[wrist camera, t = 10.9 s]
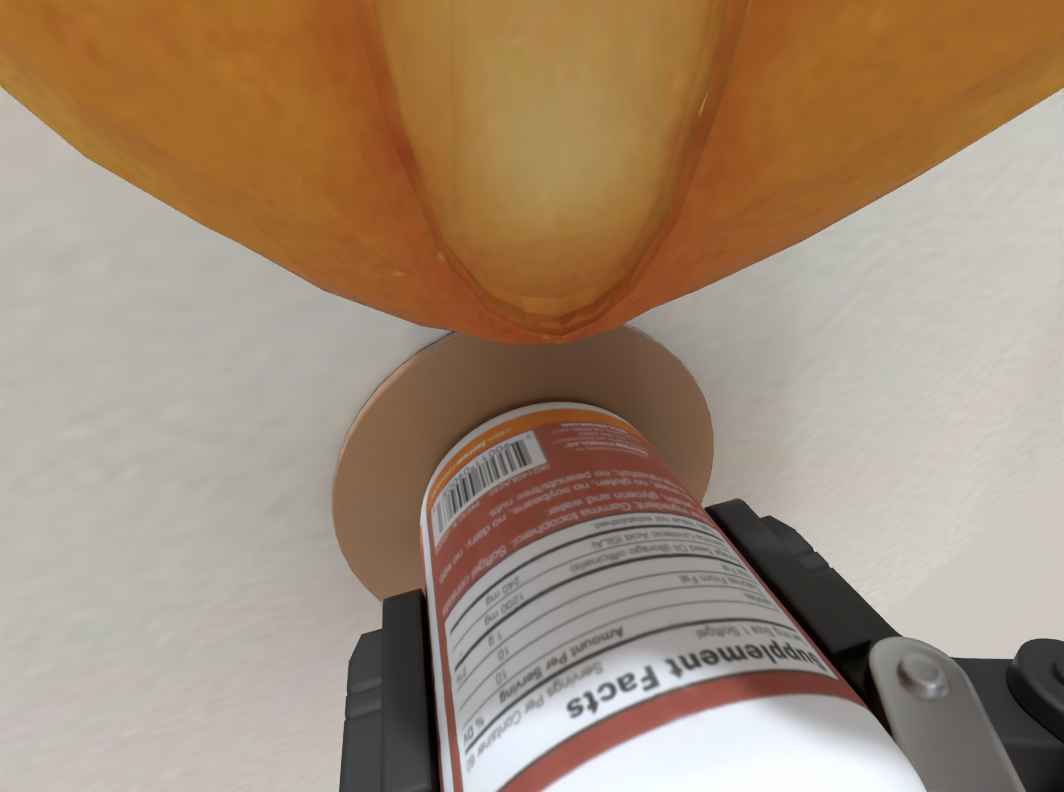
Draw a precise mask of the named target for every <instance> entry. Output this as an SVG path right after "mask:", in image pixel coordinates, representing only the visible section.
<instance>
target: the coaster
mask: <svg viewBox="0 0 1064 792" xmlns="http://www.w3.org/2000/svg"><path fill="white" fill-rule="evenodd" d="M547 402H574V403H582V404H587V405H592V406H595V407H599V408H602V409H604V410H607V411H609V412H611V413H614V414H616V415H617V416H619V417H621V418H622V419H624V420H625V421H627V422H628V423H629V424H630V425H632V426H633V427H634V428H635V429H636V430H637V431H638V432H639V433H640V434H641V435H642V436H643V437H644V438H645V439H646V440H647V441H648V442H649V443H650V445H651V446H652V447H653V448H654V449H655V451H656V452H657V453H658V454H659V455H660V456H661V458H662V459H663V460H664V461H665V462H666V464H667V465H668V466H669V468H670V469H671V470H672V471H673V473H674V474H675V475H676V476H677V477H678V479H679V480H680V481H681V482H682V483H683V485H684V486H685V487H686V488H687V489H688V491H689V492H690V493H691V494H692V495H693V497H694V498H695V499H696V500H697V501H698V503H699V504H700V505H701V502H702V500H703V497H704V495H705V492H706V490H707V486H708V482H709V478H710V475H711V470H712V462H713V454H714V445H713V429H712V424H711V418H710V413H709V410H708V407H707V405H706V402H705V399H704V396H703V394H702V392H701V390H700V389H699V387H698V385H697V383H696V381H695V380H694V378H693V376H692V375H691V374H690V373H689V371H688V370H687V369H686V368H685V366H684V365H683V364H682V363H681V362H680V360H678V359H677V358H676V357H675V356H674V355H673V354H672V353H670V352H669V351H668V350H667V349H666V348H665V347H664V346H662V345H661V344H660V343H659V342H657V341H656V340H654V339H653V338H651V337H649V336H648V335H646V334H645V333H643V332H641V331H640V330H638V329H636V328H634V327H631V326H629V325H627V324H624V323H623V324H621V325H620V326H618V327H615V328H612V329H609V330H606V331H603V332H600V333H597V334H594V335H590V336H587V337H584V338H581V339H578V340H575V341H572V342H569V343H566V344H506V343H501V342H496V341H492V340H487V339H482V338H478V337H475V336H472V335H469V334H466V333H463V332H454V333H452V334H449V335H447V336H446V337H444V338H442V339H440V340H439V341H437V342H435V343H433V344H432V345H430V346H428V347H426V348H425V349H423V350H421V351H420V352H419V353H417V354H416V355H415V356H413V357H412V358H411V359H409V360H408V361H407V362H406V363H404V364H403V365H402V366H400V367H399V368H398V369H397V370H396V371H395V372H394V373H393V374H392V375H391V376H390V377H389V378H388V379H386V380H385V381H384V382H383V383H382V384H381V385H380V386H379V387H378V388H377V390H376V391H375V392H374V393H373V395H372V396H371V397H370V399H369V400H368V401H367V403H366V404H365V405H364V406H363V408H362V409H361V410H360V412H359V414H358V416H357V417H356V419H355V421H354V423H353V425H352V426H351V428H350V430H349V432H348V433H347V436H346V439H345V441H344V444H343V447H342V449H341V452H340V455H339V457H338V462H337V467H336V472H335V477H334V483H333V494H332V514H333V521H334V527H335V533H336V536H337V539H338V542H339V545H340V548H341V551H342V553H343V555H344V557H345V559H346V561H347V562H348V564H349V566H350V568H351V570H352V571H353V573H354V574H355V575H356V576H357V578H358V579H359V580H360V581H361V583H362V584H363V585H364V586H365V587H366V588H367V589H368V590H369V591H370V592H371V593H372V594H373V595H374V596H375V597H376V598H378V599H379V600H380V601H381V602H383V601H384V599H385V598H388V597H391V596H395V595H398V594H402V593H405V592H409V591H412V590H416V589H419V588H421V589H422V591H423V593H424V596H425V589H424V578H423V567H422V555H421V544H420V518H421V508H422V504H423V499H424V496H425V493H426V490H427V487H428V485H429V482H430V480H431V478H432V476H433V474H434V472H435V470H436V468H437V467H438V465H439V464H440V463H441V461H442V460H443V459H444V457H445V456H446V455H447V454H448V452H449V451H450V450H451V449H452V448H453V447H454V446H455V445H456V444H457V443H458V442H459V441H460V440H462V439H463V438H464V437H465V436H466V435H468V434H469V433H470V432H471V431H473V430H474V429H476V428H478V427H479V426H481V425H482V424H484V423H486V422H487V421H489V420H491V419H493V418H495V417H497V416H500V415H502V414H504V413H507V412H509V411H512V410H515V409H518V408H521V407H525V406H529V405H533V404H540V403H547Z"/></svg>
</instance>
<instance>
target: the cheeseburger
mask: <svg viewBox="0 0 1064 792" xmlns="http://www.w3.org/2000/svg"><path fill="white" fill-rule="evenodd" d="M0 86H1V87H2V88H3V89H4V90H6V91H7V92H8V93H9V94H10V95H12V96H13V97H14V98H15V99H16V100H18V101H19V102H20V103H21V104H22V105H24V106H25V107H26V108H27V109H28V110H30V111H31V112H32V113H33V114H34V115H36V116H37V117H38V118H39V119H40V120H42V121H43V122H44V123H45V124H46V125H48V126H49V127H50V128H51V129H52V130H54V131H55V132H56V133H57V134H58V135H60V136H61V137H62V138H63V139H64V140H66V141H67V142H68V143H69V144H70V145H72V146H73V147H74V148H75V149H77V150H78V151H79V152H80V153H81V154H83V155H84V156H85V157H86V158H88V159H90V160H92V161H93V162H95V163H97V164H99V165H100V166H102V167H104V168H105V169H107V170H109V171H111V172H112V173H114V174H116V175H118V176H119V177H121V178H123V179H124V180H126V181H128V182H130V183H131V184H133V185H135V186H136V187H138V188H140V189H142V190H143V191H145V192H147V193H149V194H150V195H152V196H154V197H155V198H157V199H159V200H161V201H162V202H164V203H166V204H168V205H169V206H171V207H173V208H174V209H176V210H178V211H180V212H181V213H183V214H185V215H187V216H188V217H190V218H192V219H193V220H195V221H197V222H199V223H200V224H202V225H204V226H206V227H208V228H210V229H212V230H214V231H216V232H218V233H220V234H222V235H224V236H226V237H228V238H230V239H232V240H234V241H236V242H238V243H240V244H242V245H244V246H245V247H247V248H249V249H251V250H253V251H254V252H256V253H258V254H260V255H262V256H263V257H265V258H267V259H269V260H270V261H272V262H274V263H276V264H278V265H279V266H281V267H283V268H285V269H287V270H288V271H290V272H292V273H294V274H295V275H297V276H299V277H301V278H303V279H304V280H306V281H308V282H310V283H311V284H313V285H315V286H317V287H319V288H320V289H322V290H324V291H327V292H329V293H332V294H335V295H338V296H341V297H343V298H346V299H349V300H352V301H354V302H357V303H360V304H363V305H365V306H368V307H371V308H374V309H376V310H379V311H382V312H385V313H388V314H390V315H393V316H396V317H399V318H401V319H404V320H407V321H410V322H412V323H415V324H418V325H421V326H425V327H432V328H438V329H444V330H450V331H457V332H463V333H466V334H469V335H472V336H475V337H478V338H482V339H487V340H492V341H496V342H501V343H506V344H566V343H569V342H572V341H575V340H578V339H581V338H584V337H587V336H590V335H594V334H597V333H600V332H603V331H606V330H609V329H612V328H615V327H618V326H620V325H621V324H623V323H625V322H627V321H629V320H631V319H633V318H635V317H637V316H639V315H640V314H642V313H644V312H646V311H648V310H649V309H651V308H654V307H656V306H659V305H661V304H664V303H666V302H669V301H672V300H674V299H677V298H679V297H682V296H684V295H687V294H689V293H692V292H694V291H697V290H699V289H701V288H703V287H705V286H708V285H710V284H712V283H714V282H716V281H718V280H720V279H722V278H725V277H727V276H729V275H731V274H733V273H735V272H737V271H739V270H742V269H744V268H746V267H748V266H750V265H752V264H754V263H756V262H759V261H761V260H763V259H765V258H767V257H769V256H771V255H773V254H776V253H778V252H780V251H782V250H784V249H786V248H788V247H790V246H793V245H795V244H797V243H799V242H801V241H803V240H805V239H807V238H809V237H811V236H812V235H814V234H816V233H818V232H820V231H821V230H823V229H825V228H827V227H829V226H830V225H832V224H834V223H836V222H838V221H839V220H841V219H843V218H845V217H847V216H848V215H850V214H852V213H854V212H856V211H857V210H859V209H861V208H863V207H865V206H866V205H868V204H870V203H872V202H874V201H875V200H877V199H879V198H881V197H883V196H884V195H886V194H888V193H890V192H892V191H894V190H895V189H897V188H899V187H901V186H903V185H904V184H906V183H908V182H910V181H912V180H913V179H915V178H916V177H918V176H920V175H921V174H923V173H925V172H926V171H928V170H930V169H931V168H933V167H934V166H936V165H938V164H939V163H941V162H943V161H944V160H946V159H948V158H949V157H951V156H953V155H954V154H956V153H957V152H959V151H961V150H962V149H964V148H966V147H967V146H969V145H971V144H972V143H974V142H975V141H977V140H979V139H980V138H982V137H984V136H985V135H987V134H989V133H990V132H992V131H994V130H995V129H997V128H998V127H1000V126H1002V125H1003V124H1005V123H1007V122H1008V121H1010V120H1012V119H1013V118H1015V117H1016V116H1018V115H1020V114H1021V113H1023V112H1025V111H1026V110H1028V109H1030V108H1031V107H1033V106H1034V105H1036V104H1038V103H1039V102H1041V101H1043V100H1044V99H1046V98H1048V97H1049V96H1051V95H1053V94H1054V93H1056V92H1057V91H1059V90H1061V89H1062V88H1064V0H0Z"/></svg>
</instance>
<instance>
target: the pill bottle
mask: <svg viewBox="0 0 1064 792" xmlns="http://www.w3.org/2000/svg"><path fill="white" fill-rule="evenodd" d="M420 544H421V555H422V567H423V578H424V589H425V600H426V612H427V625H428V638H429V651H430V663H431V677H432V688H433V700H434V712H435V725H436V737H437V751H438V765H439V779H440V792H926V789H925V787H924V785H923V783H922V781H921V779H920V778H919V776H918V774H917V772H916V771H915V769H914V768H913V766H912V765H911V763H910V762H909V760H908V759H907V757H906V756H905V754H904V753H903V752H902V751H901V749H900V748H899V747H898V746H897V744H896V743H895V742H894V741H893V739H892V738H891V737H890V735H889V734H888V733H887V732H886V730H885V729H884V728H883V727H882V725H881V724H880V723H879V721H878V720H877V719H876V717H875V716H874V715H873V713H872V712H871V711H870V710H869V708H868V707H867V706H866V705H865V703H864V702H863V701H862V700H861V699H860V697H859V696H858V695H857V694H856V693H855V691H854V690H853V689H852V688H851V687H850V686H849V684H848V683H847V682H846V681H845V680H844V678H843V677H842V676H841V675H840V674H839V672H838V671H837V670H836V669H835V668H834V666H833V665H832V664H831V663H830V662H829V660H828V659H827V658H826V657H825V656H824V654H823V653H822V652H821V651H820V649H819V648H818V647H817V646H816V645H815V643H814V642H813V641H812V640H811V639H810V637H809V636H808V635H807V634H806V633H805V631H804V630H803V629H802V628H801V627H800V625H799V624H798V623H797V622H796V620H795V619H794V618H793V617H792V616H791V614H790V613H789V612H788V611H787V610H786V608H785V607H784V606H783V605H782V604H781V602H780V601H779V600H778V599H777V598H776V596H775V595H774V594H773V593H772V592H771V590H770V589H769V588H768V587H767V585H766V584H765V583H764V582H763V581H762V579H761V578H760V577H759V576H758V574H757V573H756V572H755V571H754V570H753V568H752V567H751V566H750V565H749V563H748V562H747V561H746V560H745V559H744V557H743V556H742V555H741V554H740V552H739V551H738V550H737V549H736V548H735V546H734V545H733V544H732V543H731V541H730V540H729V539H728V538H727V537H726V535H725V534H724V533H723V532H722V531H721V529H720V528H719V527H718V526H717V524H716V523H715V522H714V521H713V520H712V518H711V517H710V516H709V515H708V513H707V512H706V511H705V510H704V509H703V507H702V506H701V505H700V504H699V503H698V501H697V500H696V499H695V498H694V497H693V495H692V494H691V493H690V492H689V491H688V489H687V488H686V487H685V486H684V485H683V483H682V482H681V481H680V480H679V479H678V477H677V476H676V475H675V474H674V473H673V471H672V470H671V469H670V468H669V466H668V465H667V464H666V462H665V461H664V460H663V459H662V458H661V456H660V455H659V454H658V453H657V452H656V451H655V449H654V448H653V447H652V446H651V445H650V443H649V442H648V441H647V440H646V439H645V438H644V437H643V436H642V435H641V434H640V433H639V432H638V431H637V430H636V429H635V428H634V427H633V426H632V425H630V424H629V423H628V422H627V421H625V420H624V419H622V418H621V417H619V416H617V415H616V414H614V413H611V412H609V411H607V410H604V409H602V408H599V407H595V406H592V405H587V404H582V403H574V402H547V403H540V404H533V405H529V406H525V407H521V408H518V409H515V410H512V411H509V412H507V413H504V414H502V415H500V416H497V417H495V418H493V419H491V420H489V421H487V422H486V423H484V424H482V425H481V426H479V427H478V428H476V429H474V430H473V431H471V432H470V433H469V434H468V435H466V436H465V437H464V438H463V439H462V440H460V441H459V442H458V443H457V444H456V445H455V446H454V447H453V448H452V449H451V450H450V451H449V452H448V454H447V455H446V456H445V457H444V459H443V460H442V461H441V463H440V464H439V465H438V467H437V468H436V470H435V472H434V474H433V476H432V478H431V480H430V482H429V485H428V487H427V490H426V493H425V496H424V499H423V504H422V508H421V518H420Z"/></svg>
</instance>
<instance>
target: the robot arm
mask: <svg viewBox="0 0 1064 792" xmlns="http://www.w3.org/2000/svg"><path fill="white" fill-rule="evenodd" d="M704 510H705V511H706V512H707V513H708V515H709V516H710V517H711V518H712V520H713V521H714V522H715V523H716V524H717V526H718V527H719V528H720V529H721V531H722V532H723V533H724V534H725V535H726V537H727V538H728V539H729V540H730V541H731V543H732V544H733V545H734V546H735V548H736V549H737V550H738V551H739V552H740V554H741V555H742V556H743V557H744V559H745V560H746V561H747V562H748V563H749V565H750V566H751V567H752V568H753V570H754V571H755V572H756V573H757V574H758V576H759V577H760V578H761V579H762V581H763V582H764V583H765V584H766V585H767V587H768V588H769V589H770V590H771V592H772V593H773V594H774V595H775V596H776V598H777V599H778V600H779V601H780V602H781V604H782V605H783V606H784V607H785V608H786V610H787V611H788V612H789V613H790V614H791V616H792V617H793V618H794V619H795V620H796V622H797V623H798V624H799V625H800V627H801V628H802V629H803V630H804V631H805V633H806V634H807V635H808V636H809V637H810V639H811V640H812V641H813V642H814V643H815V645H816V646H817V647H818V648H819V649H820V651H821V652H822V653H823V654H824V656H825V657H826V658H827V659H828V660H829V662H830V663H831V664H832V665H833V666H834V668H835V669H836V670H837V671H838V672H839V674H840V675H841V676H842V677H843V678H844V680H845V681H846V682H847V683H848V684H849V686H850V687H851V688H852V689H853V690H854V691H855V693H856V694H857V695H858V696H859V697H860V699H861V700H862V701H863V702H864V703H865V705H866V706H867V707H868V708H869V710H870V711H871V712H872V713H873V715H874V716H875V717H876V719H877V720H878V721H879V723H880V724H881V725H882V727H883V728H884V729H885V730H886V732H887V733H888V734H889V735H890V737H891V738H892V739H893V741H894V742H895V743H896V744H897V746H898V747H899V748H900V749H901V751H902V752H903V753H904V754H905V756H906V757H907V759H908V760H909V762H910V763H911V765H912V766H913V768H914V769H915V771H916V772H917V774H918V776H919V778H920V779H921V781H922V783H923V785H924V787H925V789H926V792H1064V641H1060V640H1055V639H1034V640H1030V641H1028V642H1025V643H1024V644H1023V645H1022V646H1021V647H1020V649H1019V651H1018V652H1017V654H1016V656H1015V658H1014V659H975V658H972V659H971V658H953V657H949V656H948V655H947V654H945V653H944V652H942V651H941V650H939V649H937V648H935V647H933V646H932V645H930V644H927V643H925V642H922V641H920V640H916V639H912V638H906V637H903V636H901V635H900V634H899V633H897V632H896V631H895V630H894V629H893V628H892V627H891V626H890V625H889V624H888V623H887V622H886V621H885V620H884V619H883V618H882V617H881V616H880V615H879V614H878V613H877V612H876V611H875V610H874V609H873V608H872V607H871V606H870V605H869V604H868V603H867V602H866V601H865V600H864V599H863V598H862V597H861V596H860V595H859V594H858V593H857V592H856V591H855V590H854V589H853V588H852V587H851V586H850V585H849V584H848V583H847V582H846V581H845V580H844V579H843V578H842V577H841V576H840V575H839V574H838V573H837V572H836V571H835V570H834V569H833V568H830V567H829V564H828V563H827V562H826V561H825V559H824V558H823V557H822V556H821V555H820V554H819V553H818V552H814V550H813V547H812V546H811V545H810V544H809V543H808V542H807V541H806V540H805V539H804V538H803V537H802V536H801V535H800V534H799V533H798V532H797V531H796V530H795V529H793V528H792V527H790V526H788V525H786V524H784V523H783V522H781V521H779V520H777V519H775V518H774V517H772V516H770V515H769V516H766V517H762V518H759V517H758V516H757V515H756V514H755V512H754V511H753V510H752V509H751V508H750V507H749V506H748V505H747V504H746V503H745V502H744V501H743V500H741V499H733V500H730V501H726V502H723V503H719V504H716V505H712V506H709V507H706V508H705V509H704ZM345 717H346V720H345V721H344V733H343V746H342V760H341V773H340V786H339V792H440V779H439V765H438V751H437V737H436V725H435V712H434V700H433V688H432V677H431V663H430V651H429V638H428V625H427V612H426V600H425V596H424V593H423V591H422V589H421V588H419V589H416V590H412V591H409V592H405V593H402V594H398V595H395V596H391V597H388V598H385V599H384V601H383V621H382V629H378V630H375V631H372V632H368V633H365V634H362V635H361V637H360V639H359V641H358V643H357V645H356V648H355V650H354V652H353V654H352V656H351V658H350V661H349V667H348V680H347V696H346V706H345Z"/></svg>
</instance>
